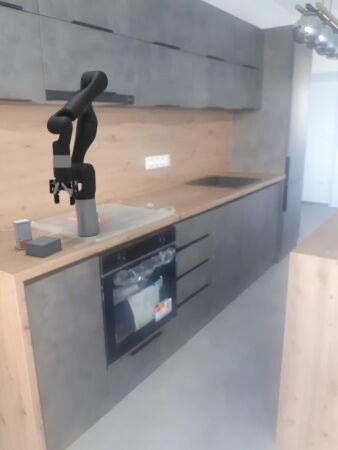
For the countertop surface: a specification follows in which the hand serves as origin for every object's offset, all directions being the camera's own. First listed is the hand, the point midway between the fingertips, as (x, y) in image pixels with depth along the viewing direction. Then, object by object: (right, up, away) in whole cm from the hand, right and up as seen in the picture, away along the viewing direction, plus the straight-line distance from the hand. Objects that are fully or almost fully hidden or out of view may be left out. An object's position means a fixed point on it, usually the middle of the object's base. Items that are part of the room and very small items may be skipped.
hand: (64, 204), depth 157 cm
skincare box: (-17, -19, 0) cm, 25 cm away
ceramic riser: (-7, -20, -6) cm, 22 cm away
